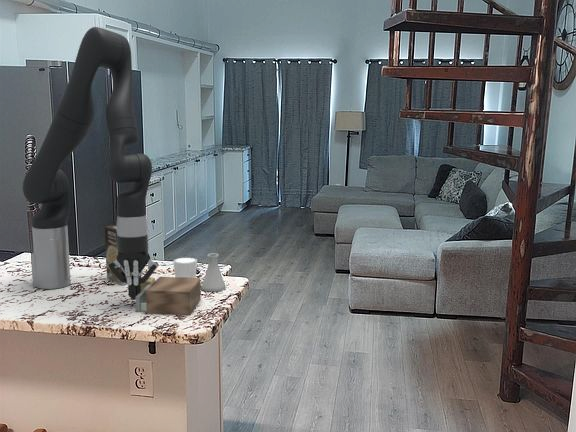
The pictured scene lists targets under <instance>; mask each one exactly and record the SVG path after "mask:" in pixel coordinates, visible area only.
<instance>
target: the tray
mask: <svg viewBox="0 0 576 432" xmlns="http://www.w3.org/2000/svg"><path fill="white" fill-rule="evenodd" d="M150 286H151V285H147V286H146V287H145V288H144V289H143V290H142V291H141V292H140V293H139V294H138V295H137V296H136V299H135V312H138V313H139V312H147V308H146V290H147V289H148V288H149V287H150Z"/></svg>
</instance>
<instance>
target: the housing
mask: <svg viewBox="0 0 576 432" xmlns="http://www.w3.org/2000/svg"><path fill="white" fill-rule="evenodd" d="M201 291H202V290H201V278H200V277H196V278H186V277H175V276H159V277H158V278H157V279H155V282H154V283H153V284H152V285H151V286H150V287H149V288H148V289H147V290H146V308H147V311H146V314H148V315H149V314H150V315H151V314H153V315H171V316H172V315H174V316H175V315H176V316H177V315H178V316H191V315H192V313H193V311H194V310H195V309H196V307H197V306H198V304H199V303H200V301H201V299H202V298H201V296H202V295H201V294H202V293H201Z"/></svg>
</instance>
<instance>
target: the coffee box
mask: <svg viewBox="0 0 576 432" xmlns="http://www.w3.org/2000/svg"><path fill="white" fill-rule="evenodd" d="M104 243H105V267H106V279H107V280H110V281H111V282H114V283H116V284H119V285H122V286H125V285H128V284H127V283H122V282H121V281H120V280H119V279H118V278H117V277H116V275H115V274H114V273H113V272H112V270H111V269H110V268H109V264H110V263H111V262H113V261H115V260H116V257H117V255H118V244H117V224H115V225H113V224H112V225H108V226H104ZM120 268H121V269H122V270H123V271H124V273H125V270H124V269H123V268H122V266H121V265H120Z"/></svg>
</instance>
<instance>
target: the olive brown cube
mask: <svg viewBox="0 0 576 432" xmlns="http://www.w3.org/2000/svg"><path fill="white" fill-rule="evenodd" d="M142 277H143V276H141V278H142ZM155 281H156V278H155V277H152V276H150V277H149V279H148V280H147V281H146V282H145V283H142V284H141V291H142V290H143V289H144V288H145V287H146V286H147V285H152V284H153V283H154V282H155Z"/></svg>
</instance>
